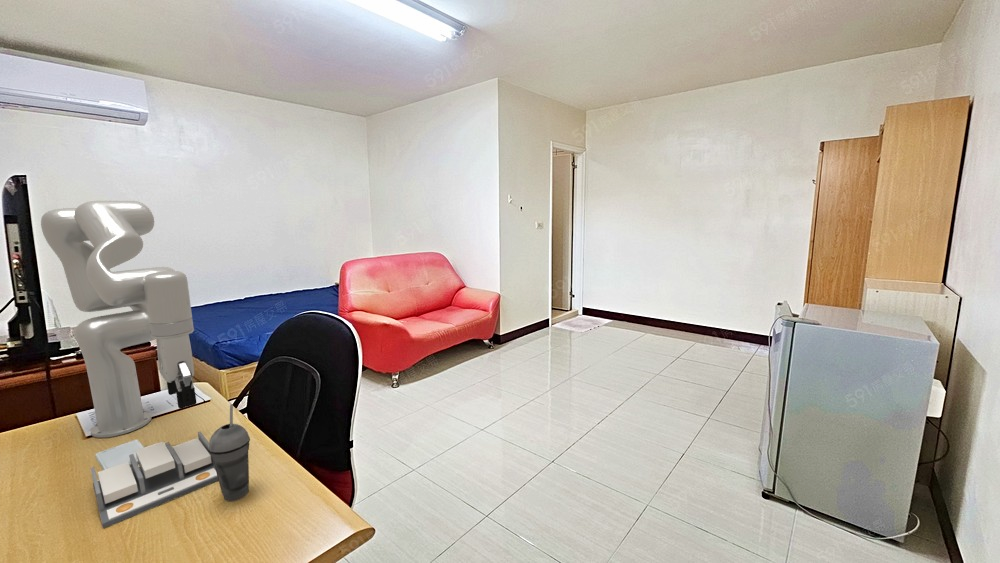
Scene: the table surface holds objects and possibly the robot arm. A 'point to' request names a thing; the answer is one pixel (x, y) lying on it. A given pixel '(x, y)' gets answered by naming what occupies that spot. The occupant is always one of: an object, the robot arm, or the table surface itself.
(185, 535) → the table surface
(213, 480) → the switch console
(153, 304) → the robot arm
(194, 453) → the button
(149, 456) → the white rectangular block
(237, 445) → the beverage cup
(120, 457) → the hard drive
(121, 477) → the button
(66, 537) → the table surface
